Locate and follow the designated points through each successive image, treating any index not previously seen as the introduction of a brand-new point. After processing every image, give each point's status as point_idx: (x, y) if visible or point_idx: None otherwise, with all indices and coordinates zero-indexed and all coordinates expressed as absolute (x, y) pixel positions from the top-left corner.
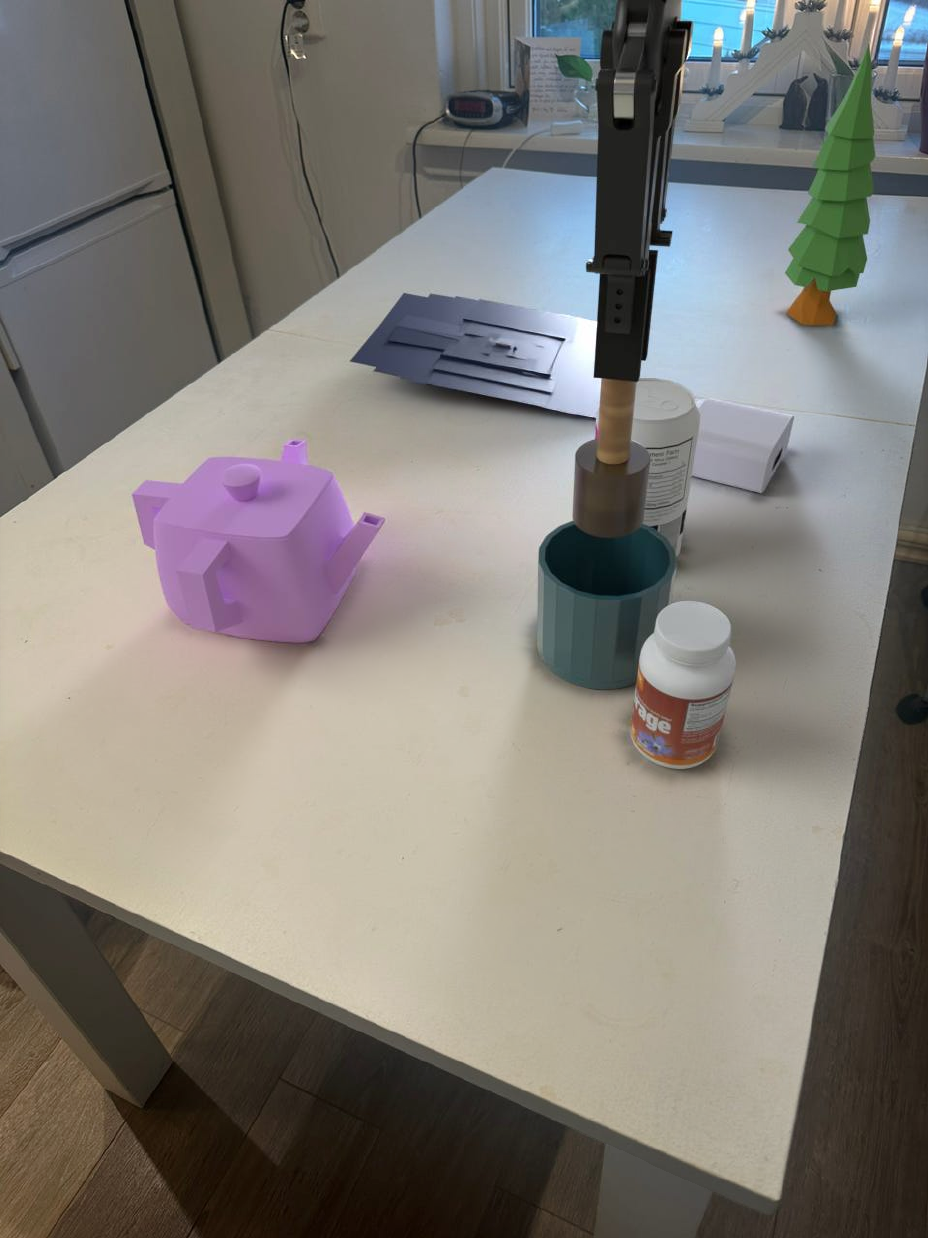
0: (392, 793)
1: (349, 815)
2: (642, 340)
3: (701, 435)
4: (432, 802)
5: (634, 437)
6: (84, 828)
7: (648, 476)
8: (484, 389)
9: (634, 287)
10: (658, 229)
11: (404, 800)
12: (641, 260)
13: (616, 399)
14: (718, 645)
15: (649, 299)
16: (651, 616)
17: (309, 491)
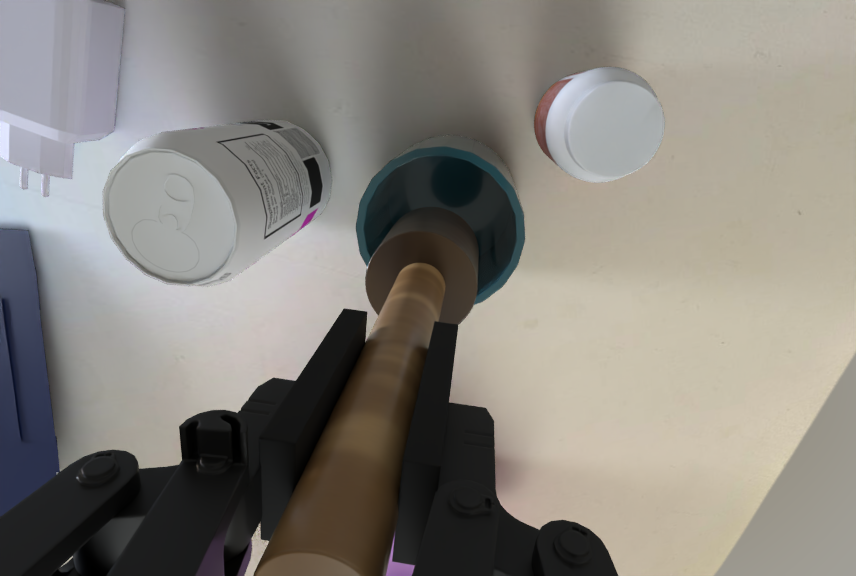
0: (655, 362)
1: (679, 389)
2: (445, 363)
3: (63, 102)
4: (664, 330)
5: (257, 232)
6: (691, 551)
7: (427, 223)
8: (35, 378)
9: (465, 473)
10: (207, 473)
11: (662, 351)
12: (586, 563)
13: None
14: (655, 98)
15: (332, 379)
16: (500, 167)
17: (392, 549)
